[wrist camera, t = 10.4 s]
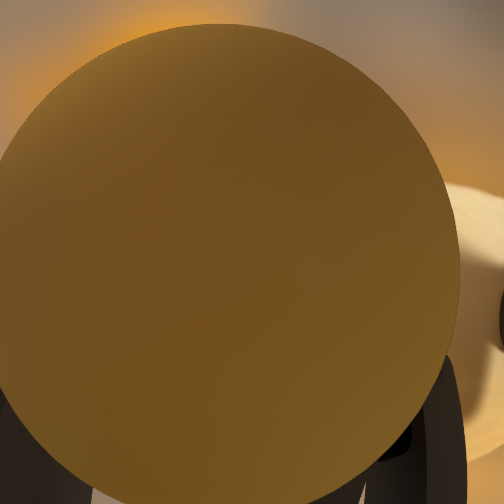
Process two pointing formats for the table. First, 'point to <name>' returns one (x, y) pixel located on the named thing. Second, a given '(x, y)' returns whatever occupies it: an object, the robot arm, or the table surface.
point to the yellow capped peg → (221, 270)
